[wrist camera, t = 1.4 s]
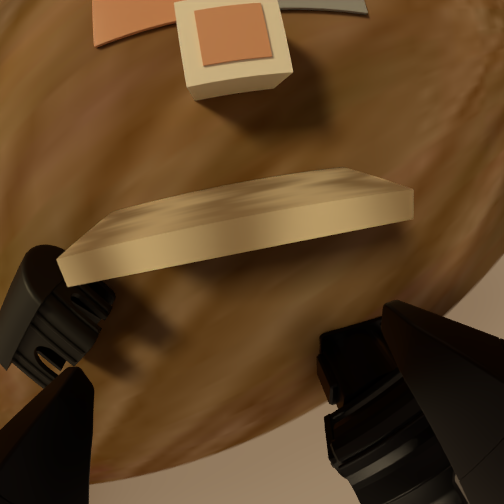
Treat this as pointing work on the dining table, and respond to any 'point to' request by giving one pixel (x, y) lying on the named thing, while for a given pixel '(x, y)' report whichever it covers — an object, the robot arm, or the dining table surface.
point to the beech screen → (234, 222)
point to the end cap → (49, 316)
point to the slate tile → (325, 5)
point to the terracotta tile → (129, 18)
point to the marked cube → (231, 46)
